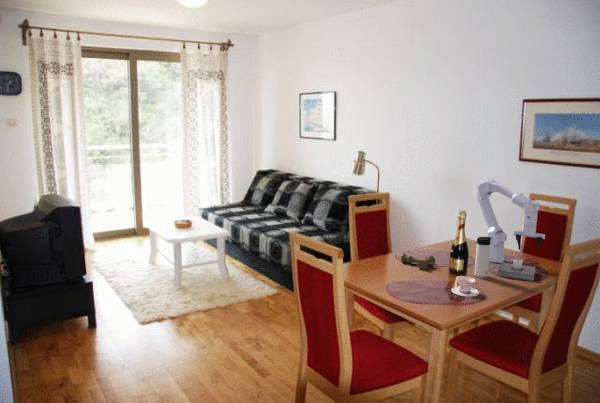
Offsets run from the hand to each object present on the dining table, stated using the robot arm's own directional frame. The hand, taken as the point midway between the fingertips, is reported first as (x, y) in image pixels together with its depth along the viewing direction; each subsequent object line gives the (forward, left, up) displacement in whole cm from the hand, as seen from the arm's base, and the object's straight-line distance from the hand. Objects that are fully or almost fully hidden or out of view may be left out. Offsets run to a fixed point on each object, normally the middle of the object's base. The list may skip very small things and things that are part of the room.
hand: (527, 250), depth 253 cm
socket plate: (-3, -14, -9) cm, 17 cm away
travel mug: (-18, -26, -10) cm, 33 cm away
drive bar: (-3, -13, -9) cm, 17 cm away
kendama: (-49, -25, -10) cm, 56 cm away
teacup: (-22, -51, -10) cm, 56 cm away
